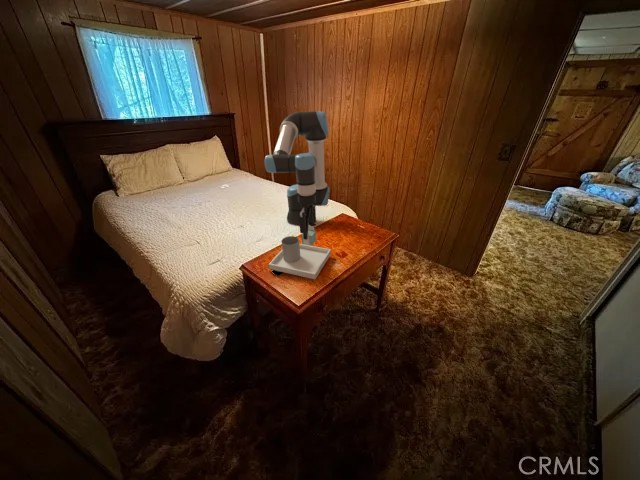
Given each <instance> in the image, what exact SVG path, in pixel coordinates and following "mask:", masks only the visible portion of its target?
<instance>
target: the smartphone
mask: <svg viewBox="0 0 640 480" xmlns="http://www.w3.org/2000/svg"><path fill="white" fill-rule="evenodd" d="M272 272H273V273H274V274H275V276H276V275H277V277H281V276H282V275H283V274H285V272H280V271H276V270H273V271H272ZM274 274H273V275H274Z"/></svg>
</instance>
